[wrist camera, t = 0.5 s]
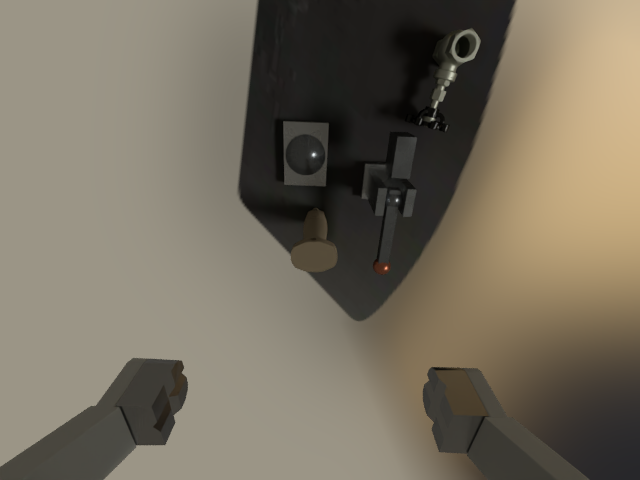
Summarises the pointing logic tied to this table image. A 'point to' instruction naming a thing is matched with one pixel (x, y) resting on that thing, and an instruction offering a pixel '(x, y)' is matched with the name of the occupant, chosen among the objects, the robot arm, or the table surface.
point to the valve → (446, 73)
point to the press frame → (311, 165)
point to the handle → (314, 245)
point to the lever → (394, 193)
